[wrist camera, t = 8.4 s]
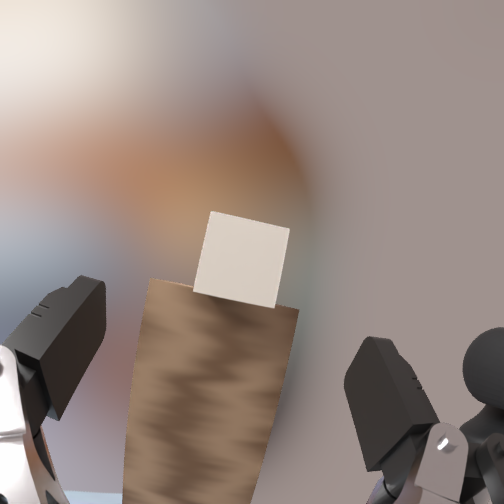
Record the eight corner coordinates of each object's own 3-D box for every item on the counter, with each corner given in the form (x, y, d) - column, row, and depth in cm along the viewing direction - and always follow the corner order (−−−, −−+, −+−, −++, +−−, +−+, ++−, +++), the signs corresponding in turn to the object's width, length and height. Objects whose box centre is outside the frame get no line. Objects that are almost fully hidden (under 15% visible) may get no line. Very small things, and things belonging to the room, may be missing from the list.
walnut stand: (215, 528, 28) (268, 302, 32) (219, 590, 16) (299, 309, 20) (140, 514, 27) (173, 281, 31) (123, 573, 15) (150, 277, 20)
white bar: (243, 297, 30) (251, 261, 31) (292, 311, 11) (310, 218, 12) (199, 287, 30) (207, 251, 30) (173, 287, 11) (196, 191, 11)
